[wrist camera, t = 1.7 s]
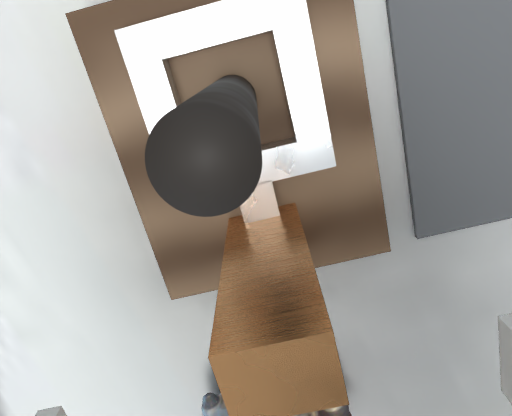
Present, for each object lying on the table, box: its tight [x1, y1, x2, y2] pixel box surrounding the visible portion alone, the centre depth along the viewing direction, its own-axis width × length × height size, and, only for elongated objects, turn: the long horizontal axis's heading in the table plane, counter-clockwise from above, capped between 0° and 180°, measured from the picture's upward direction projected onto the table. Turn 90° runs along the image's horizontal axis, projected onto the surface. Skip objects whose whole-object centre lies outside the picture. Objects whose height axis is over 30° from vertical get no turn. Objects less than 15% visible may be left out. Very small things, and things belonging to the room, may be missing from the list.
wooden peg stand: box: [66, 0, 391, 300], centre depth 18 cm, size 17×14×17 cm
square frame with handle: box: [114, 0, 349, 416], centre depth 17 cm, size 14×9×12 cm, turn 14°
